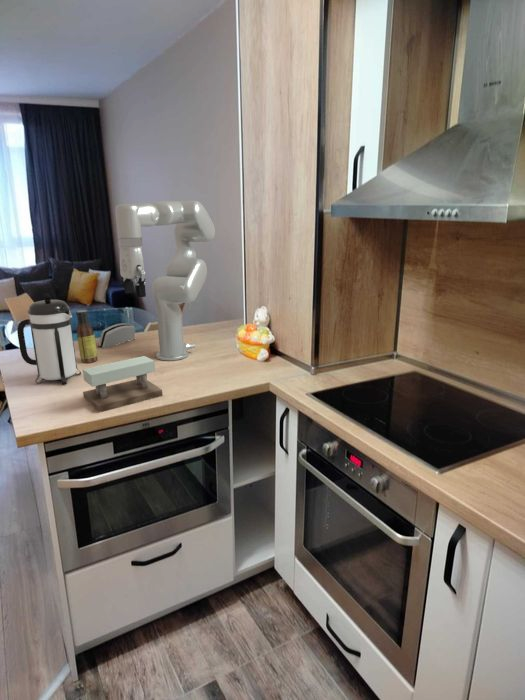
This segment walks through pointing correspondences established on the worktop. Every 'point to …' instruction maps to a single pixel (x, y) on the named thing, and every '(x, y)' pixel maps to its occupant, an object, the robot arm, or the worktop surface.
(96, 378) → the shelf board
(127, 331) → the napkin holder
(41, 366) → the coffee press
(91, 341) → the sauce bottle
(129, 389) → the peg stand
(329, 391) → the worktop surface
